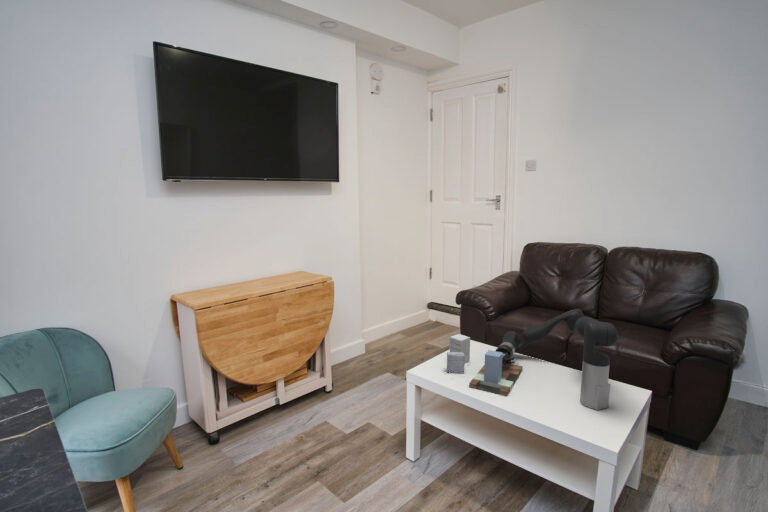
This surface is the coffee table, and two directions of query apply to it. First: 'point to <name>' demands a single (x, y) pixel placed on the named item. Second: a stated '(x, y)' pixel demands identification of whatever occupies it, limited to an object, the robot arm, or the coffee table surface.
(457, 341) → the supplement box
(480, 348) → the coffee table surface
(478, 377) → the pad
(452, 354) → the medicine box
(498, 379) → the block
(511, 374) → the deck
